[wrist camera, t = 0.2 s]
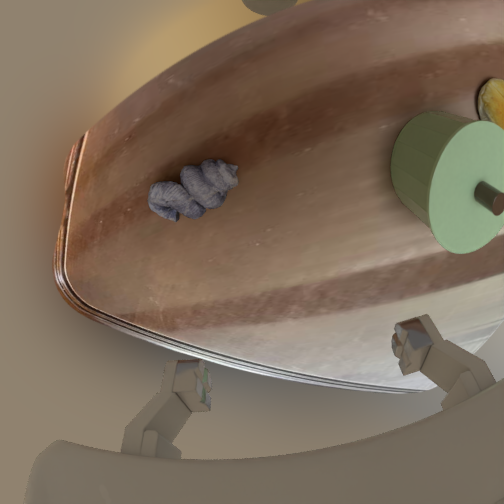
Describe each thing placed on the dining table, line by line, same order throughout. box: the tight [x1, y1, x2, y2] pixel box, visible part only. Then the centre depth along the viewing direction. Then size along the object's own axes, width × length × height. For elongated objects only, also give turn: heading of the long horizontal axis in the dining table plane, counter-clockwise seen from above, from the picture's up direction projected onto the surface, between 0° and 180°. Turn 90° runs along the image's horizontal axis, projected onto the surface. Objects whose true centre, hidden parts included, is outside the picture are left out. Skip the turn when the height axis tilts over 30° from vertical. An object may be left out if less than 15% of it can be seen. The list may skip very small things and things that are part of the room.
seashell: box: [147, 159, 239, 222], centre depth 27 cm, size 5×5×10 cm
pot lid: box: [426, 120, 504, 254], centre depth 20 cm, size 15×15×4 cm
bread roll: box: [478, 78, 504, 130], centre depth 21 cm, size 8×9×4 cm
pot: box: [391, 111, 474, 228], centre depth 25 cm, size 14×14×8 cm
